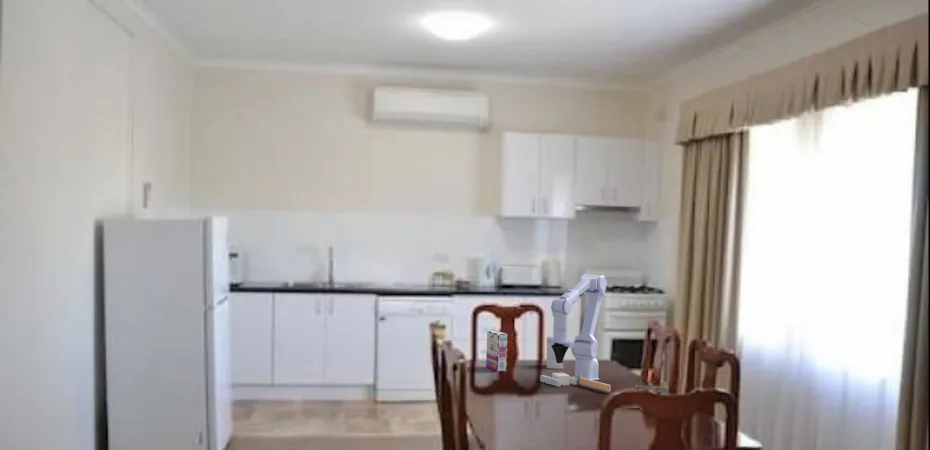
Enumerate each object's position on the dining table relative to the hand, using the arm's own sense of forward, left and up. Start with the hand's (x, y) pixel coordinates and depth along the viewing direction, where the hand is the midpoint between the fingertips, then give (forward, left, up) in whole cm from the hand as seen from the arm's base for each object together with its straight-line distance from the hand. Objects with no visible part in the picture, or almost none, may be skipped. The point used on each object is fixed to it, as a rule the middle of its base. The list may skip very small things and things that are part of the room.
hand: (559, 362), depth 298 cm
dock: (-4, -5, -9) cm, 11 cm away
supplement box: (-23, -30, -10) cm, 39 cm away
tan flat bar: (-9, +10, -9) cm, 16 cm away
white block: (-4, -3, -10) cm, 11 cm away
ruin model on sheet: (-10, +40, -10) cm, 42 cm away
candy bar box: (+4, -37, -10) cm, 39 cm away
